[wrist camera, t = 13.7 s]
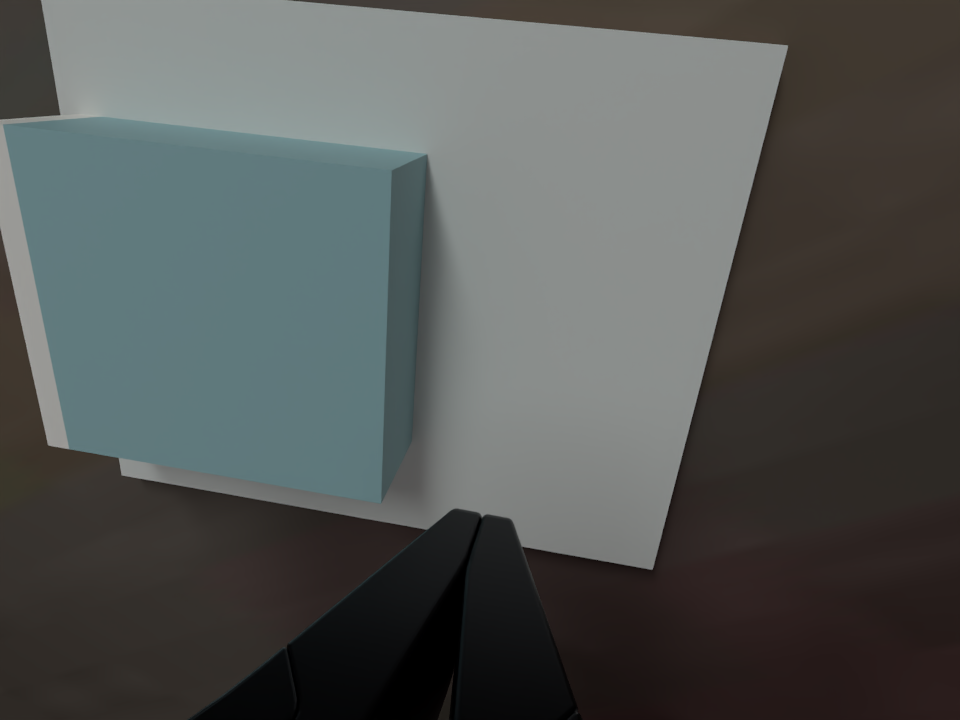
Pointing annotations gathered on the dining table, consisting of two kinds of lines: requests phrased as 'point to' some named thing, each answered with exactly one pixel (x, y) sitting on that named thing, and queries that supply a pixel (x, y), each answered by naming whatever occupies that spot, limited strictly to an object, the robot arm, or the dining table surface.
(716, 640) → the dining table surface
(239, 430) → the slab
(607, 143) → the mat
